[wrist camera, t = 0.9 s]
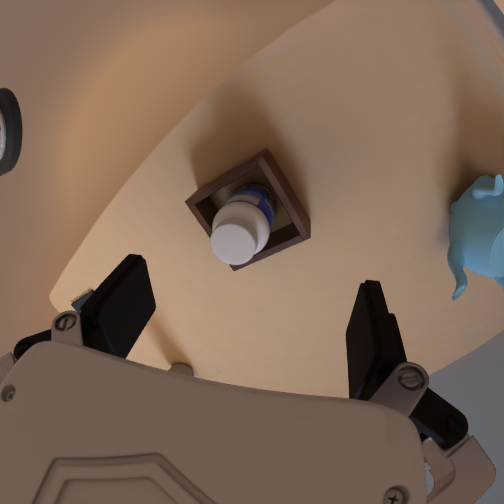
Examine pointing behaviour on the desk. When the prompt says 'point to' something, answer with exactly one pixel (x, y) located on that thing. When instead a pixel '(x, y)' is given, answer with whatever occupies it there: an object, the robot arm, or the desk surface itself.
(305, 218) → the caddy
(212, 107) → the desk surface
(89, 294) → the mat
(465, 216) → the teapot
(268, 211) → the pill bottle
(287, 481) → the robot arm
